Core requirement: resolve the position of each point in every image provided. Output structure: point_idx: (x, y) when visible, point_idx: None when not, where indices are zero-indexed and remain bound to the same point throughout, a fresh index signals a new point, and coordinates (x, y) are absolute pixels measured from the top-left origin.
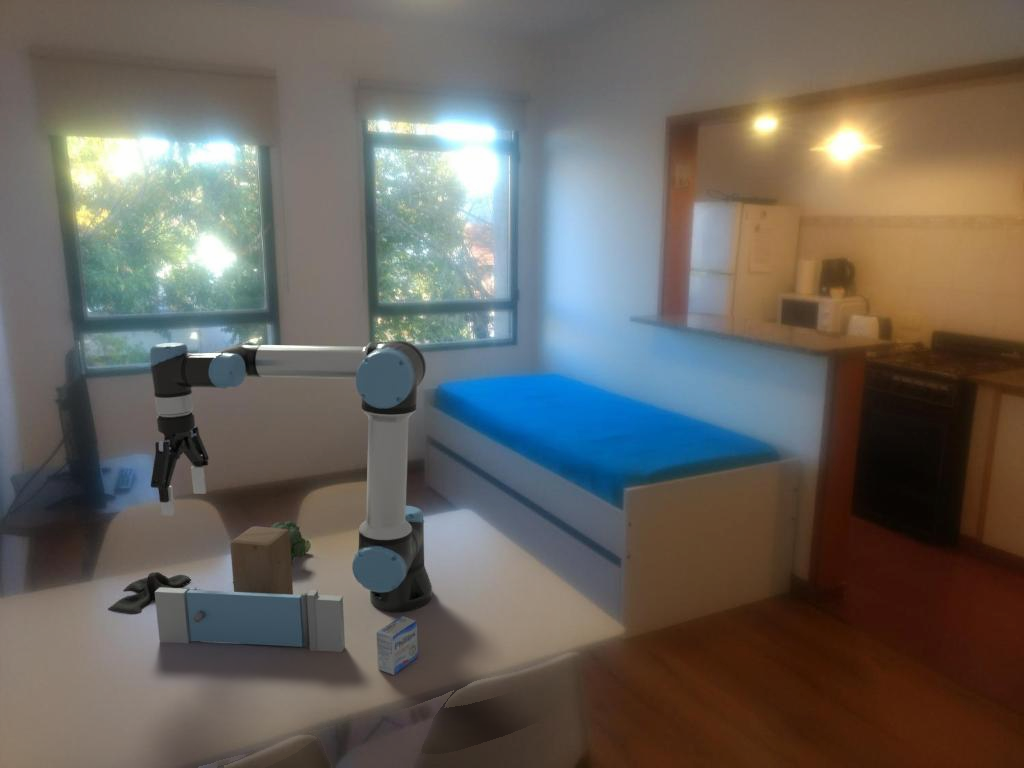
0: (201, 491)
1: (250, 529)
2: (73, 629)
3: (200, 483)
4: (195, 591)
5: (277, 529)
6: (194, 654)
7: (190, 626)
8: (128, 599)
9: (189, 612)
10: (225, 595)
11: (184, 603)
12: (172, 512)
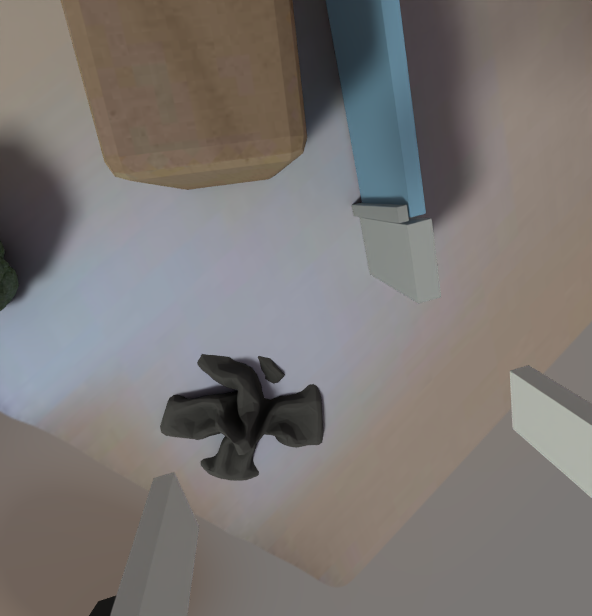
0: (178, 499)
1: (159, 145)
2: (390, 435)
3: (167, 554)
4: (415, 192)
5: None
6: None
7: None
8: (293, 434)
9: None
10: (408, 87)
11: (416, 217)
12: (544, 376)
